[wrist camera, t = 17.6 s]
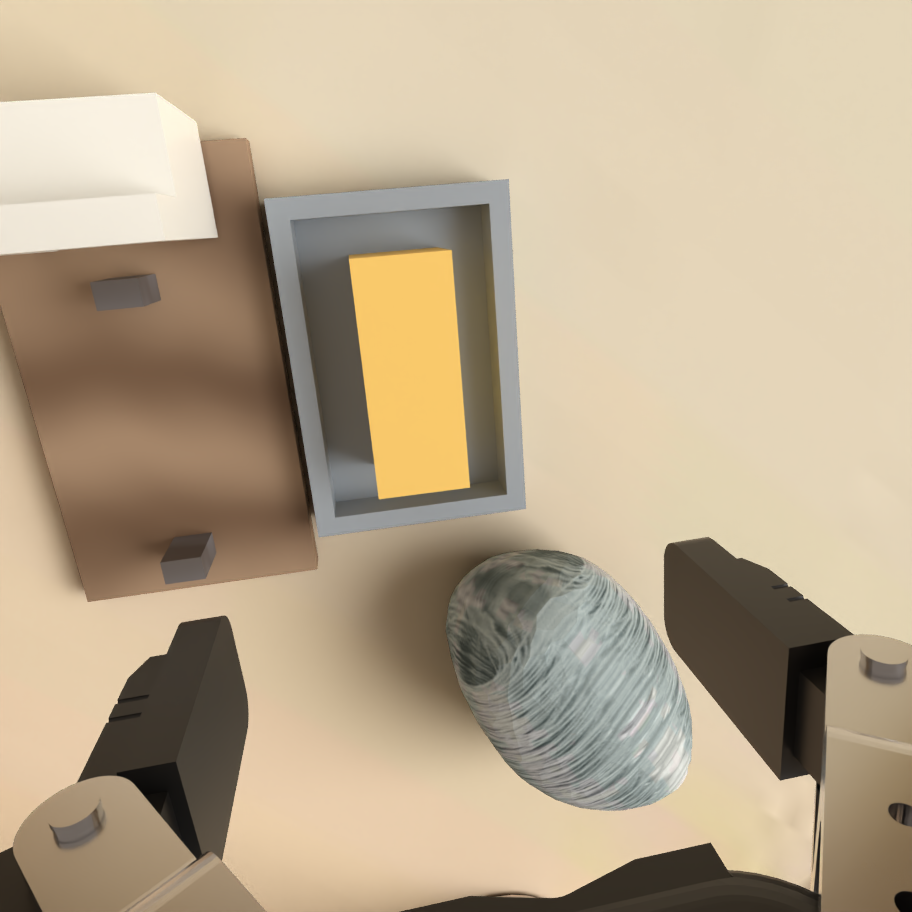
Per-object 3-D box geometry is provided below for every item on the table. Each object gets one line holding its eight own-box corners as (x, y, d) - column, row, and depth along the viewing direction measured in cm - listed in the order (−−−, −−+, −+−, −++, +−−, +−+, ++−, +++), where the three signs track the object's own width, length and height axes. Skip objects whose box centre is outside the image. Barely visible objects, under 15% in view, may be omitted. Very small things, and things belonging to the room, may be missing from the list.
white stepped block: (217, 237, 26) (165, 240, 18) (29, 253, 25) (-106, 263, 18) (196, 121, 25) (130, 74, 17) (-4, 134, 24) (-165, 91, 16)
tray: (513, 489, 32) (525, 508, 30) (320, 515, 31) (318, 537, 29) (495, 183, 28) (508, 179, 26) (270, 201, 27) (263, 198, 25)
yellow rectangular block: (454, 454, 31) (469, 487, 27) (374, 464, 30) (378, 499, 26) (436, 247, 28) (451, 250, 24) (348, 255, 27) (348, 258, 23)
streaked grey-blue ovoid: (368, 629, 30) (531, 750, 22) (503, 481, 33) (684, 544, 26) (489, 770, 38) (641, 895, 30) (589, 638, 41) (747, 721, 34)
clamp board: (318, 559, 32) (314, 595, 29) (95, 590, 31) (66, 632, 28) (249, 141, 26) (235, 129, 23) (-29, 160, 25) (-84, 150, 22)
